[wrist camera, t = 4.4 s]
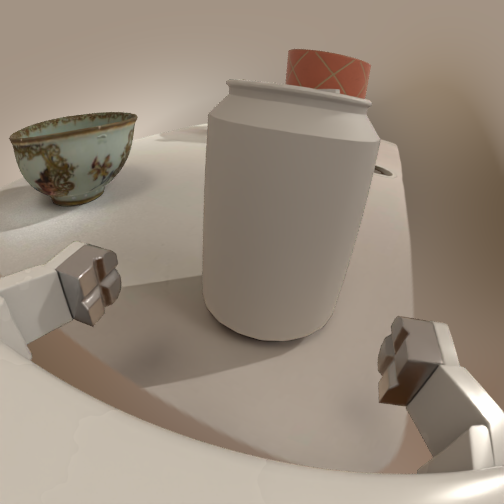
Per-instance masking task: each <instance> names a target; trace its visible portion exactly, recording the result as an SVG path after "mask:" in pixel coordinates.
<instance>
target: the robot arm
mask: <svg viewBox="0 0 504 504" xmlns="http://www.w3.org/2000/svg"><path fill="white" fill-rule="evenodd" d="M117 265H118V261H117V256H116V254H115V253H114V252H113V251H111V250H107V249H104V248H101V247H97V246H94V245H91V244H87V243H83V242H80V241H74V242H72V243H71V244H70V245H68V246H67V247H66V248H64V249H63V250H62V251H61V252H59V253H58V254H57V255H56V256H54V257H53V258H52V259H51V260H49V261H48V262H47V263H46V264H44V265H37V266H34V267H31V268H28V269H25V270H22V271H19V272H16V273H13V274H10V275H7V276H4V277H1V278H0V504H504V412H503V411H502V410H501V409H500V407H499V406H498V405H497V404H496V403H495V402H494V400H493V399H492V398H491V397H490V396H489V394H488V393H487V392H486V391H485V390H484V389H483V387H482V386H481V385H480V384H479V383H478V382H477V381H476V380H475V378H474V377H473V376H472V375H471V374H470V373H469V372H468V371H467V369H466V368H465V367H460V364H459V360H458V357H457V353H456V350H455V346H454V343H453V340H452V336H451V333H450V330H449V327H448V325H447V324H446V323H441V322H435V321H425V320H419V319H414V318H408V317H402V316H397V317H396V319H395V320H394V322H393V324H392V325H391V331H392V334H391V335H389V336H388V337H386V338H385V339H384V341H383V343H382V345H381V348H380V352H379V355H378V371H379V373H380V374H381V375H382V378H381V380H380V381H379V383H378V391H379V403H384V404H392V405H399V406H407V407H406V409H407V411H408V413H409V414H410V416H411V418H412V420H413V421H414V423H415V425H416V427H417V428H418V430H419V432H420V434H421V436H422V438H423V439H424V441H425V443H426V445H427V447H428V449H429V451H430V452H431V454H432V456H433V459H431V460H430V461H428V462H427V463H426V464H424V465H423V466H421V467H420V468H419V469H418V470H417V474H381V473H363V472H350V471H340V470H331V469H323V468H316V467H309V466H303V465H297V464H291V463H285V462H280V461H275V460H270V459H266V458H261V457H257V456H253V455H248V454H244V453H240V452H237V451H233V450H229V449H225V448H221V447H218V446H215V445H212V444H208V443H205V442H202V441H199V440H196V439H193V438H190V437H187V436H184V435H181V434H178V433H175V432H173V431H170V430H167V429H165V428H162V427H159V426H156V425H154V424H152V423H149V422H147V421H144V420H142V419H140V418H137V417H135V416H133V415H130V414H128V413H126V412H123V411H121V410H119V409H117V408H115V407H112V406H111V405H109V404H106V403H104V402H102V401H100V400H98V399H96V398H94V397H92V396H90V395H88V394H86V393H85V392H83V391H81V390H79V389H77V388H75V387H73V386H72V385H70V384H68V383H66V382H65V381H63V380H61V379H59V378H58V377H56V376H54V375H53V374H51V373H49V372H48V371H46V370H44V369H43V368H41V367H40V366H38V365H37V364H35V363H33V362H32V361H30V360H31V359H32V354H31V352H30V350H29V348H28V347H27V344H29V343H31V342H33V341H34V340H36V339H38V338H40V337H42V336H44V335H46V334H47V333H49V332H51V331H53V330H55V329H57V328H59V327H61V326H62V325H64V324H66V323H68V322H70V321H72V320H73V319H75V320H77V321H80V322H82V323H85V324H87V325H90V326H92V327H93V326H94V325H95V324H96V323H97V322H98V320H99V319H100V318H101V317H102V316H103V315H104V313H105V307H106V306H109V305H111V304H113V303H114V302H115V300H116V299H117V298H118V296H119V293H120V290H121V277H120V275H119V273H118V272H117V270H116V269H115V268H116V266H117Z"/></svg>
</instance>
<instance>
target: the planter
mask: <svg viewBox="0 0 504 504" xmlns="http://www.w3.org/2000/svg"><path fill="white" fill-rule="evenodd" d="M370 68H371V65H370V64H369V63H366V62H364V61H362V60H359V59H356V58H352V57H348V56H344V55H340V54H335V53H329V52H323V51H316V50H306V49H292V50H289V51H288V62H287V73H286V85H294V86H301V87H307V88H313V89H339V90H340V94H344V95H349V96H353V97H358V98H362V99H365V96H366V90H367V85H368V79H369V73H370Z"/></svg>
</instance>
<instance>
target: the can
mask: <svg viewBox="0 0 504 504" xmlns="http://www.w3.org/2000/svg"><path fill="white" fill-rule="evenodd" d="M226 84H227V85H228V86H229V95H228V96H226V97H225V98H224V99H223V100H222V101H221V102H220V103H219V104H218V105H217V106H216V107H215V108H214V109H213V110H212V111H211V112H210V113H209V114H208V129H207V146H206V165H205V188H204V217H203V271H202V294H203V297H204V300H205V303H206V306H207V308H208V310H209V311H210V312H211V313H212V314H213V315H214V317H215V318H216V319H217V320H218V321H219V322H220V323H222V324H224V325H225V326H227V327H229V328H230V329H232V330H233V331H235V332H237V333H239V334H242V335H245V336H248V337H252V338H255V339H259V340H268V341H288V340H293V339H297V338H302V337H306V336H309V335H310V334H312V333H314V332H315V331H317V330H319V329H320V328H322V327H324V325H325V324H326V322H327V321H328V320H329V318H330V317H331V316H332V314H333V311H334V308H335V305H336V302H337V299H338V296H339V293H340V290H341V287H342V284H343V281H344V278H345V275H346V271H347V268H348V265H349V262H350V258H351V255H352V252H353V248H354V245H355V242H356V238H357V235H358V231H359V227H360V224H361V220H362V216H363V213H364V209H365V205H366V201H367V197H368V193H369V189H370V185H371V181H372V177H373V172H374V168H375V164H376V159H377V155H378V150H379V145H380V138H379V136H378V135H377V133H376V131H375V129H374V127H373V126H372V124H371V122H370V120H369V119H368V117H367V115H366V113H367V109H368V108H369V107H370V106H372V103H371V101H369V100H366V99H362V98H358V97H353V96H349V95H344V94H340V90H339V89H313V88H307V87H301V86H294V85H286V84H278V83H270V82H260V81H249V80H234V79H229V80H228V81H226Z"/></svg>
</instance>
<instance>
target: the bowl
mask: <svg viewBox="0 0 504 504" xmlns="http://www.w3.org/2000/svg"><path fill="white" fill-rule="evenodd" d="M136 120H137V116H136V115H135V114H131V113H122V112H106V113H92V114H84V115H76V116H68V117H63V118H57V119H52V120H48V121H44V122H41V123H37V124H34V125H31V126H28V127H26V128H23V129H21V130H19V131H17V132H15V133H13V134H12V135H11V136H10V138H9V139H10V141H11V143H12V145H13V148H14V153H15V157H16V161H17V164H18V167H19V169H20V171H21V173H22V175H23V176H24V178H25V180H26V181H27V182H28V183H29V184H30V185H31V186H32V187H34V188H35V189H36V190H37V191H39V192H41V193H44V194H46V195H50V196H51V199H52V201H53V203H55V204H57V205H60V206H72V205H80V204H84V203H87V202H90V201H92V200H94V199H96V198H98V197H99V196H100V195H102V194H103V192H104V188H105V185H106V184H107V183H109V182H110V181H111V180H112V179H113V178H114V177H115V176H116V175H117V174H118V173H119V171H120V170H121V169H122V167H123V165H124V164H125V162H126V160H127V158H128V155H129V153H130V150H131V146H132V140H133V133H134V125H135V122H136Z"/></svg>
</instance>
